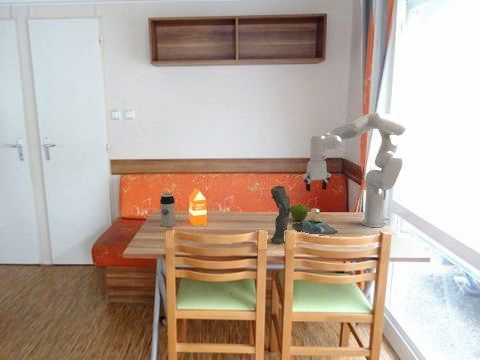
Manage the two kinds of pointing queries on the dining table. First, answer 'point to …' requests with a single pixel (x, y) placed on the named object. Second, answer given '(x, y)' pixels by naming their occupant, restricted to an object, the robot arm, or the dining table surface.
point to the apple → (299, 212)
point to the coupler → (315, 216)
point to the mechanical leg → (280, 213)
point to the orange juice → (197, 208)
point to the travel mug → (167, 209)
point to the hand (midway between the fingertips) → (316, 190)
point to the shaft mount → (314, 227)
